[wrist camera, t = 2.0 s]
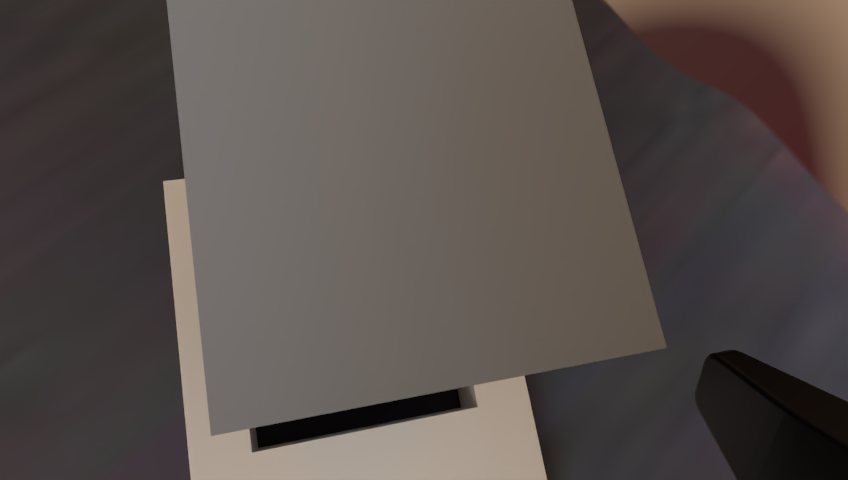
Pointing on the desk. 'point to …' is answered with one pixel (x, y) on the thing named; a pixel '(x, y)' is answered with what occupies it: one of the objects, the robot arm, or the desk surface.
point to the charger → (397, 201)
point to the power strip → (357, 448)
